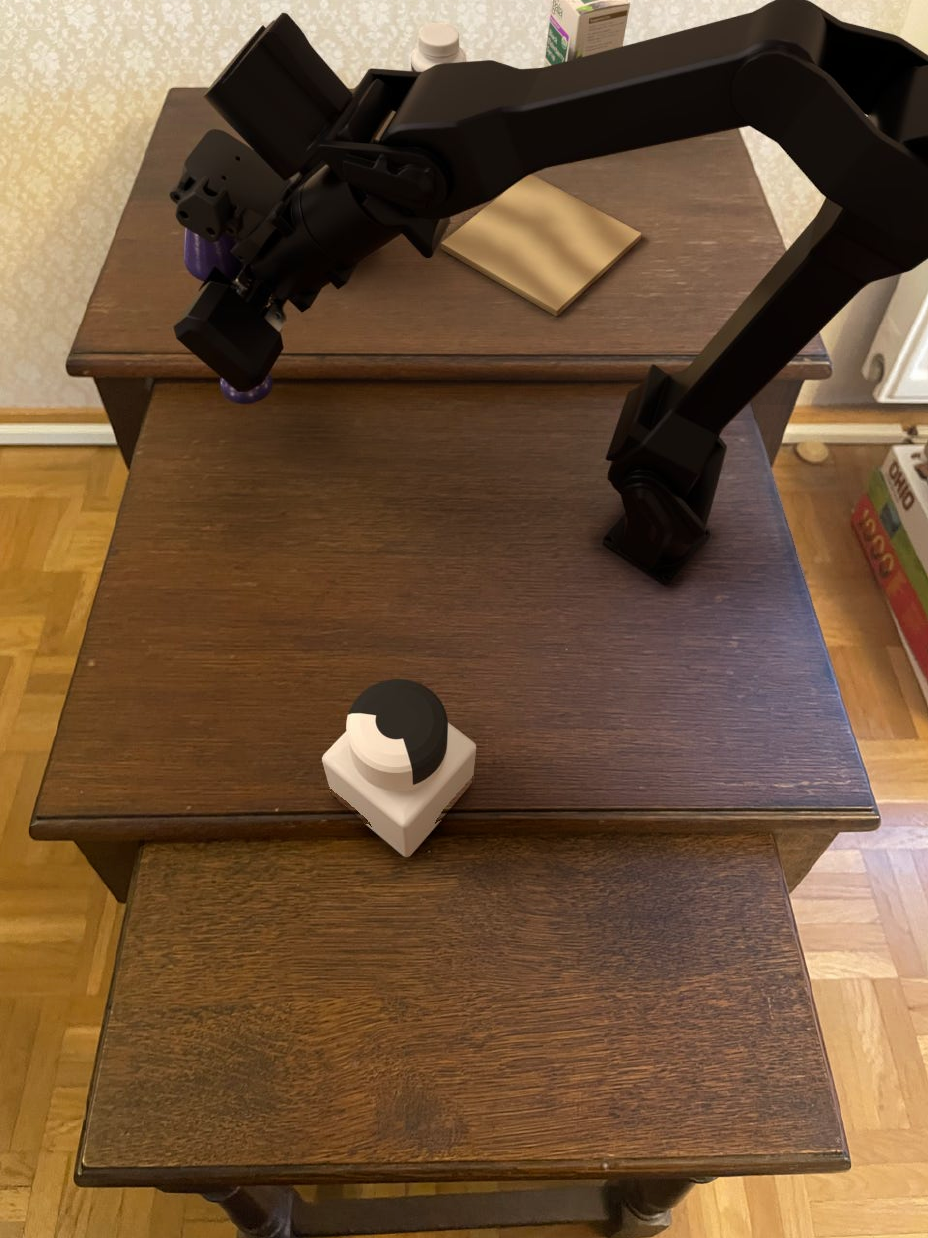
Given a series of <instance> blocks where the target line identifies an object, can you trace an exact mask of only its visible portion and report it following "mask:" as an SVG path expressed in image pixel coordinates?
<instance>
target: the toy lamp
mask: <svg viewBox="0 0 928 1238" xmlns="http://www.w3.org/2000/svg"><path fill="white" fill-rule="evenodd" d="M238 241H239V239H235V238H230V237H228V236H226V235H222V236H221V237H220V238H219V240H218V241H217V242H208V241H207V240H205V239H203V238H202V237H200V236H198V235H197V234H195V233H193V232H192V231H190V230H189V229H187V228H185V227H184V239H183V262H184V263H183V264H184V266H185V268H186V270H187V271H188V273H189V275H191V276H192V277H194V278H195V279H197V280H198V281H201V282H202V283H204V281H205V280H206V278H207V277H208V275H209V274H210V272H211V271H212V269H213V268H214V266H215V267H216V268H217V269H219V270H220V271H221V272H222V273H223V274H224V275H225V276H226V277H227V278H228V279H229V280H230V281H231V282H232V283H235V279H236V278H237V276H238V275H239V273H240V272H241V270H242V269H243V267H244V264H242V263H241V262H240V261H239V260H238V259H237V258H236V257H235V256H234V255H233V254H232V253H231V252H230V251H231V250H232V248H233V247H234V245H235V244H236V243H237V242H238ZM219 384H220V385H219V387H220V391H221V393H222V395H223V396H224V397H225V399H227V400H228V401H230V402H232V403H235V404H238V405H251V404H255V403H257V402H260V401H262V400H264V399H266V398H267V397H268V396H269V394H270V393H271V392H272V390H273V387H274V379H273V376H272V374H271V371H270V372H269V374H268V375H267V377H266V379H265V381H264V382H263V383H262V384H261V385H259V386H257V387H256V388H254V389H252V390H251V391H249V392H238V391H236V390H235V389H234V388H233V387H232V386H231V385H229V384H228V383H227V382H226V381H225V380H224V379H222V378H221V377H220V379H219Z"/></svg>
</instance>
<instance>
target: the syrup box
mask: <svg viewBox="0 0 928 1238" xmlns="http://www.w3.org/2000/svg"><path fill="white" fill-rule="evenodd" d="M630 7H631V2H630V1H629V0H550V7H549V17H548V24H547V33H546V42H545V50H544V51H545V52H544V59H543V67H547V66H551V65H554V64H558V63H562V62H566V61H569V60H573V59H577V58H581V57H584V56H588V55H592V54H596V53H600V52H603V51H607V50H611V49H615V48H618V47H622V46H624V40H625V36H626V29H627V24H628V18H629V12H630Z"/></svg>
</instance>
